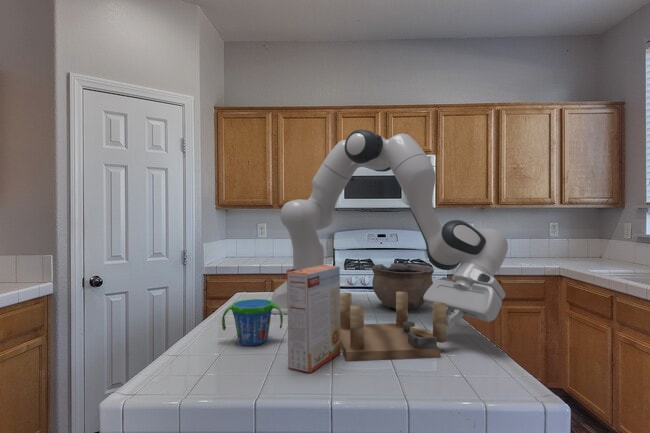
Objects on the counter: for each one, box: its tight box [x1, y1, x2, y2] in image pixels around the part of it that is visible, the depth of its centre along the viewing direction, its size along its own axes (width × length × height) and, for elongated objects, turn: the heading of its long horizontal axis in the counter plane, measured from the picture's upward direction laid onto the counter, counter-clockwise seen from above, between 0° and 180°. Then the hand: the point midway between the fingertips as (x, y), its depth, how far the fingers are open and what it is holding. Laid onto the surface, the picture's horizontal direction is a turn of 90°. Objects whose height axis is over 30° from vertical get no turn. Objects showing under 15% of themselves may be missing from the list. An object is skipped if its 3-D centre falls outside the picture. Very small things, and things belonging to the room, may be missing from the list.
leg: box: [403, 302, 448, 343], centre depth 96 cm, size 13×3×9 cm, turn 34°
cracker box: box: [286, 264, 342, 374], centre depth 85 cm, size 14×6×21 cm, turn 149°
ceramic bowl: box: [371, 262, 435, 310], centre depth 137 cm, size 22×22×15 cm
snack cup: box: [221, 298, 284, 347], centre depth 98 cm, size 16×11×10 cm
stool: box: [340, 292, 441, 362], centre depth 97 cm, size 22×22×11 cm
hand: (444, 325), depth 93 cm, fingers closed, pressing on leg
